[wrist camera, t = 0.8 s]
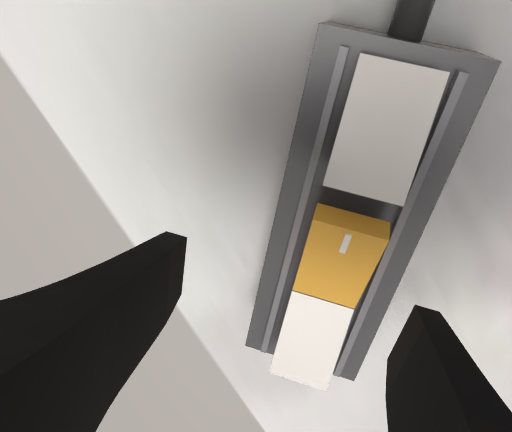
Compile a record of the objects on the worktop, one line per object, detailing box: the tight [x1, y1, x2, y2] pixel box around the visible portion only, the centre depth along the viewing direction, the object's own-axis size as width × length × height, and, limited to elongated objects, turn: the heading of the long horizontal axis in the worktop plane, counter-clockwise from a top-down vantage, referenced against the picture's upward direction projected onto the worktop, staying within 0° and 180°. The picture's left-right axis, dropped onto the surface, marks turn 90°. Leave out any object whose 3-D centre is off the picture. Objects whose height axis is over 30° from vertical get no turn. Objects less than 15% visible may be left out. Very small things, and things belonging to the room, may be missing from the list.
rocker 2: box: [323, 53, 450, 206], centre depth 13 cm, size 4×3×1 cm, turn 170°
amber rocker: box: [292, 203, 390, 309], centre depth 16 cm, size 4×3×1 cm, turn 170°
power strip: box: [245, 0, 501, 381], centre depth 17 cm, size 21×6×4 cm, turn 170°
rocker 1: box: [269, 285, 354, 392], centre depth 18 cm, size 4×3×1 cm, turn 170°
